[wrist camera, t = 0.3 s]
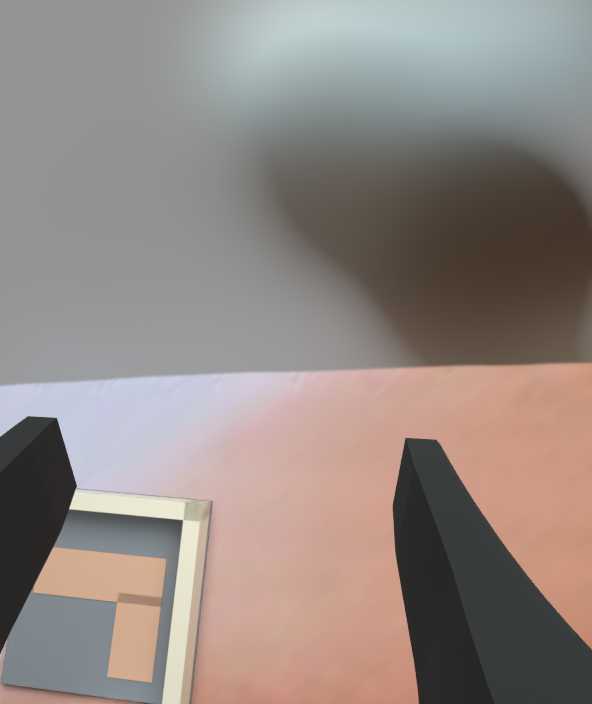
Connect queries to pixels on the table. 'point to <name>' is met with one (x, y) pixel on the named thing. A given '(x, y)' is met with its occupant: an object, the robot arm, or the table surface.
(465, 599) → the robot arm
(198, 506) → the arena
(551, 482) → the table surface
